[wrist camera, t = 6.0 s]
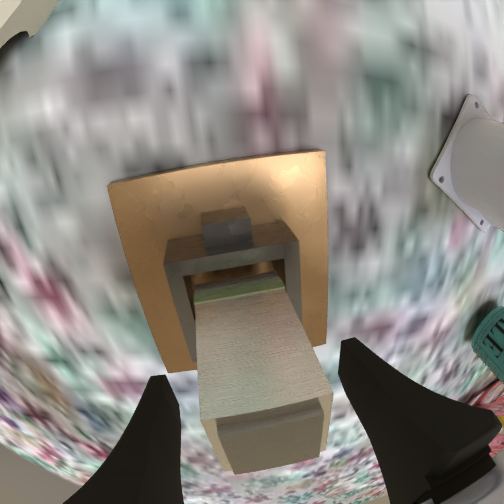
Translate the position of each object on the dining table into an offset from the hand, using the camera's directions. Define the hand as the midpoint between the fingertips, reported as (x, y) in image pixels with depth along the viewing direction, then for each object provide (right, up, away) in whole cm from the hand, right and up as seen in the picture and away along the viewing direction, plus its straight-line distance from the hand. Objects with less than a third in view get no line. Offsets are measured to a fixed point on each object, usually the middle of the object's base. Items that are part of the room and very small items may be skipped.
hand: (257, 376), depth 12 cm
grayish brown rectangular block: (-1, +2, +4) cm, 5 cm away
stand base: (-1, +4, +8) cm, 9 cm away
